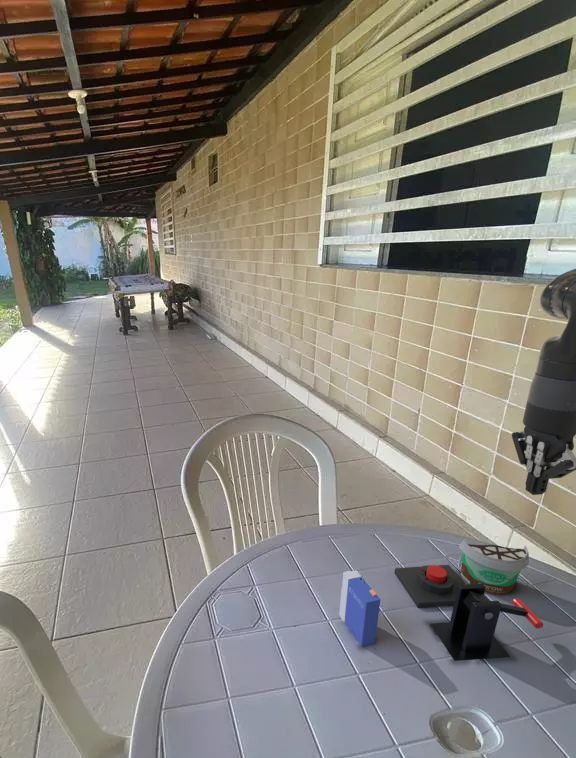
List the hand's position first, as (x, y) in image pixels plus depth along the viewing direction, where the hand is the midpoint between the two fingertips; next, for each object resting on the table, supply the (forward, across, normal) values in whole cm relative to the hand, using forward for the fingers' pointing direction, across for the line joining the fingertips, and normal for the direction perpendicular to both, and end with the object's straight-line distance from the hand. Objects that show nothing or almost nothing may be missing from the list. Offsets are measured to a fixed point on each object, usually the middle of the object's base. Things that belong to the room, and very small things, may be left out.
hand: (534, 492), depth 75 cm
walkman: (+26, -4, +32) cm, 41 cm away
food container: (+27, +4, 0) cm, 27 cm away
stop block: (+26, +5, +12) cm, 29 cm away
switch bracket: (+26, -8, +13) cm, 30 cm away
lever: (+19, -8, +9) cm, 22 cm away
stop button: (+23, +5, +12) cm, 26 cm away
